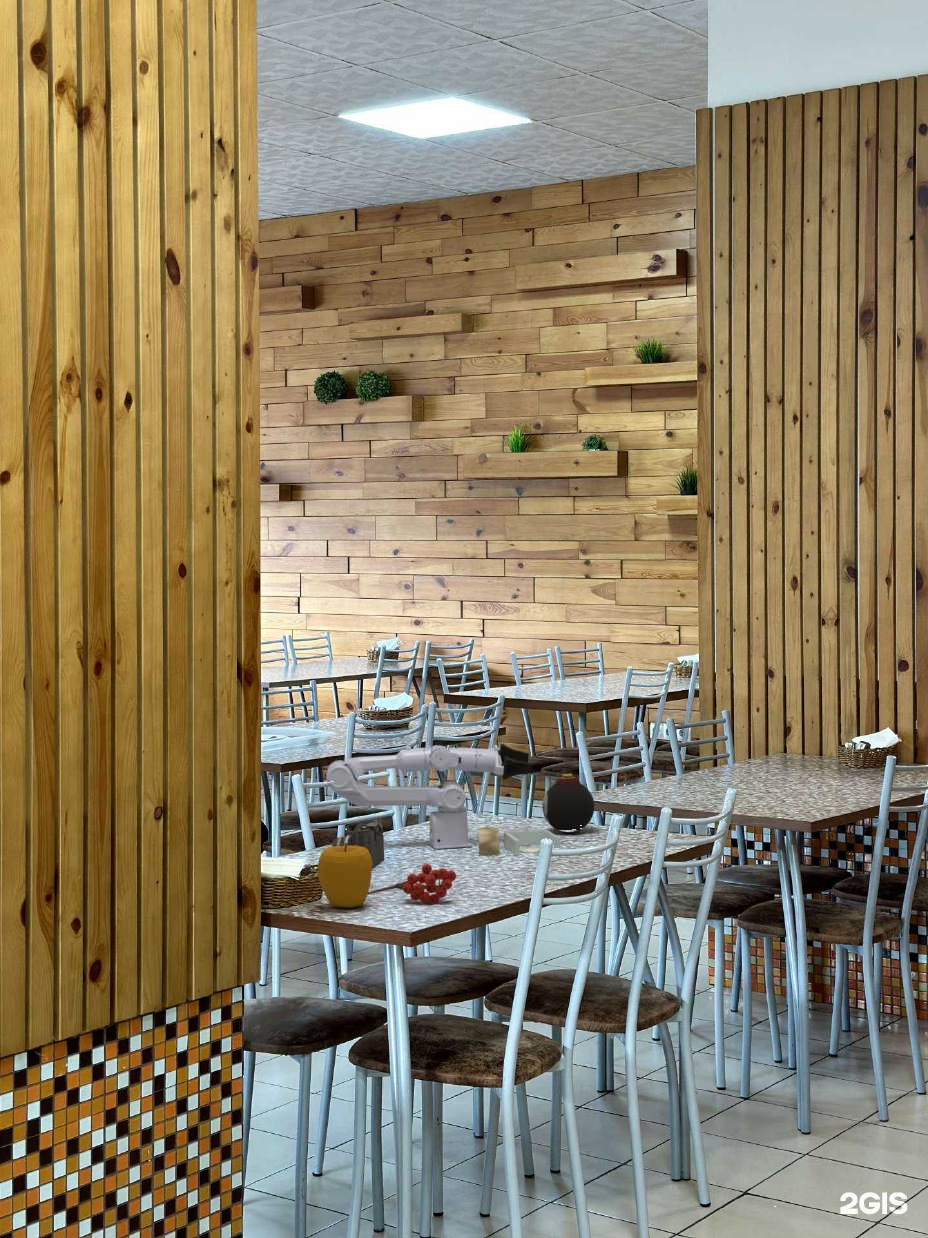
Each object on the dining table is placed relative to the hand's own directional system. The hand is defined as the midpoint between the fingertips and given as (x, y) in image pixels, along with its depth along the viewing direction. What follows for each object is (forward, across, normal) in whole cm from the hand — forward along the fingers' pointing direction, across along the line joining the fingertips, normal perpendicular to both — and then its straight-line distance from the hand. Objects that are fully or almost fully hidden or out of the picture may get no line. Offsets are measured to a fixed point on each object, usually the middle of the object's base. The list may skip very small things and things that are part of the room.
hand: (530, 762), depth 362 cm
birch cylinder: (-10, -18, +18) cm, 27 cm away
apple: (-44, -68, +9) cm, 82 cm away
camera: (-41, -24, +19) cm, 52 cm away
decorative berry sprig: (-29, -55, +11) cm, 63 cm away
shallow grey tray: (0, -14, +17) cm, 22 cm away
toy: (+13, +7, +21) cm, 26 cm away
